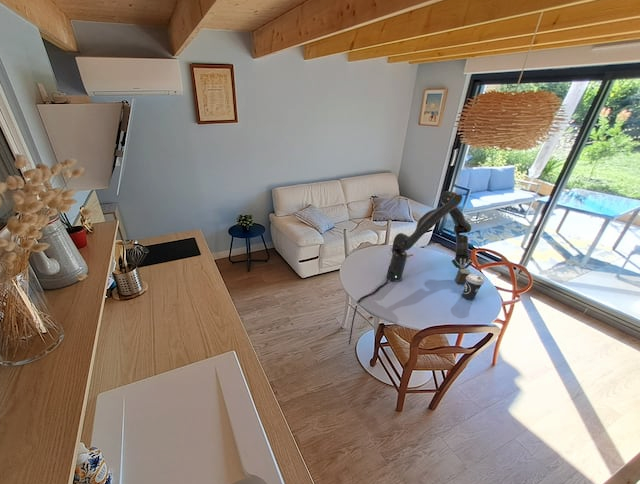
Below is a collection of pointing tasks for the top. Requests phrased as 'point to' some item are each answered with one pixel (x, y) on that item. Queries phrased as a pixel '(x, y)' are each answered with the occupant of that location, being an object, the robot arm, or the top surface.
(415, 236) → the robot arm
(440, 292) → the top surface
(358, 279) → the top surface
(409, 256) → the magic lamp
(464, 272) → the walnut block
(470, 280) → the coffee cup
